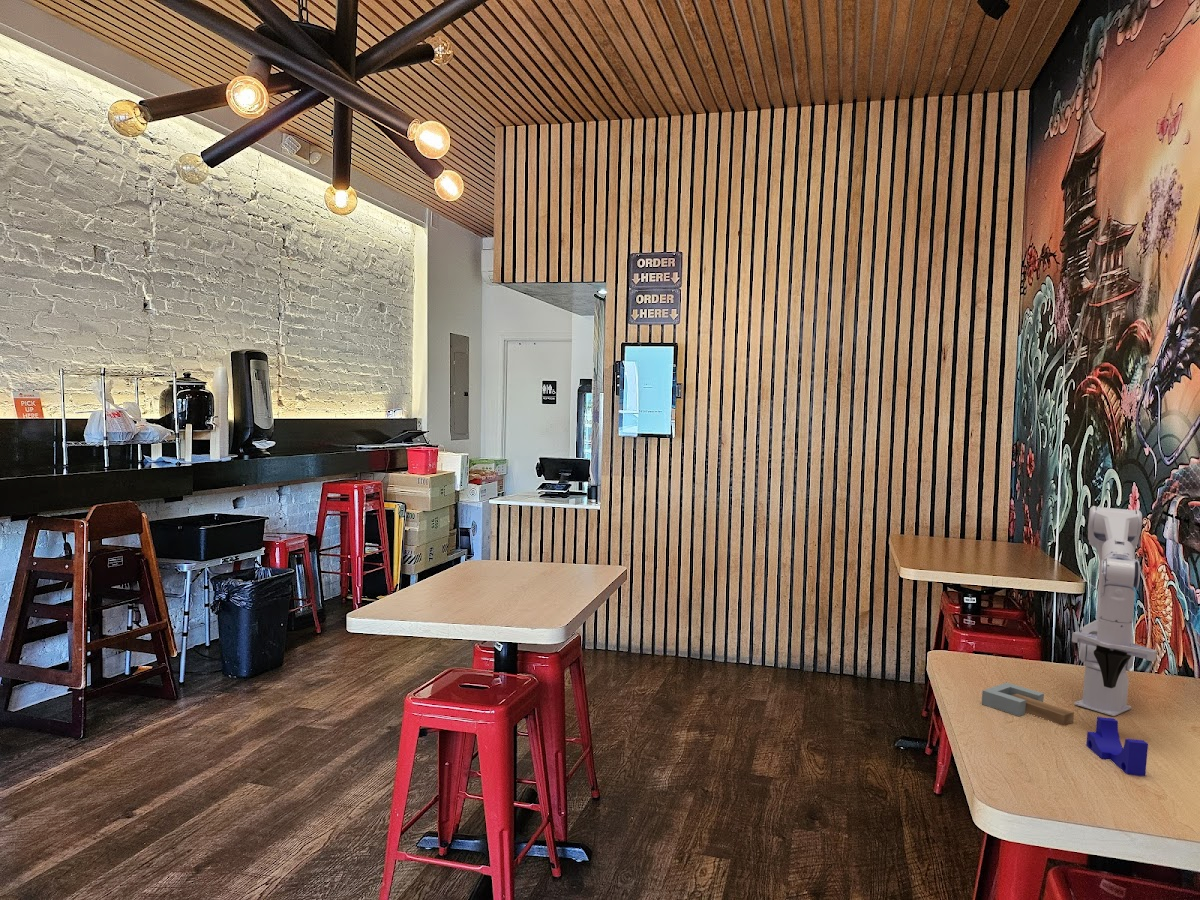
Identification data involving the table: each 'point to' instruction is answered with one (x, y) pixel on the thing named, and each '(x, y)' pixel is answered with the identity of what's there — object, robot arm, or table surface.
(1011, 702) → the end cap
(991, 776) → the table surface
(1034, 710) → the slat
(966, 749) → the table surface
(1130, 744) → the cable clip
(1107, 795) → the table surface
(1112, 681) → the robot arm
